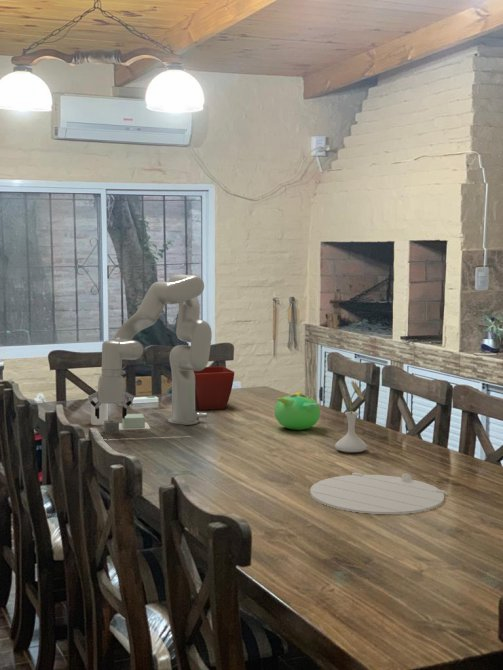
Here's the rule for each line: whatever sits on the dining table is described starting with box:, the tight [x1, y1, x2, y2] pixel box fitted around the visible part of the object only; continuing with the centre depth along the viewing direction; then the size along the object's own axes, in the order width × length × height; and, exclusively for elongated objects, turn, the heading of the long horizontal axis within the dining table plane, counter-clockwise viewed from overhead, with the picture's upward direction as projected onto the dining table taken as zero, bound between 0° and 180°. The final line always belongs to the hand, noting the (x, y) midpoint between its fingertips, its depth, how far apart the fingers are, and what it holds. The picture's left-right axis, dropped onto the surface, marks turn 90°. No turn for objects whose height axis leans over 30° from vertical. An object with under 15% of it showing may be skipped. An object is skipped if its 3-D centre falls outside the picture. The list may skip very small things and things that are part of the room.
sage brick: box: [121, 413, 146, 428], centre depth 356 cm, size 8×8×4 cm
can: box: [90, 396, 109, 426], centre depth 360 cm, size 6×6×12 cm
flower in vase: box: [334, 380, 368, 453], centre depth 322 cm, size 13×11×25 cm
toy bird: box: [274, 390, 321, 431], centre depth 357 cm, size 18×17×15 cm
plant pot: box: [194, 366, 235, 411], centre depth 401 cm, size 19×19×17 cm
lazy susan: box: [309, 472, 449, 515], centre depth 268 cm, size 40×39×3 cm
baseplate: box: [119, 421, 152, 431], centre depth 357 cm, size 12×12×1 cm
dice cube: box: [103, 419, 120, 435], centre depth 345 cm, size 5×5×5 cm
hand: (110, 418), depth 344 cm, fingers open, 9 cm apart
